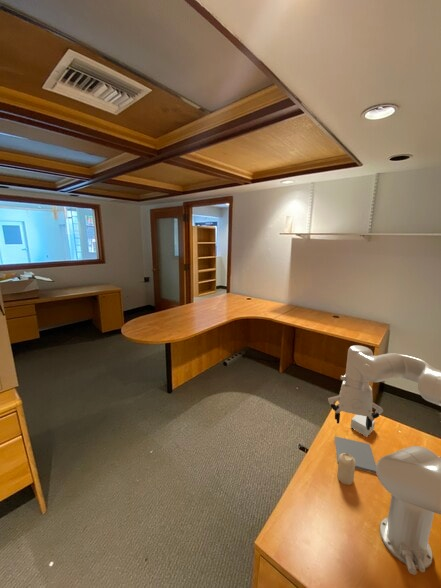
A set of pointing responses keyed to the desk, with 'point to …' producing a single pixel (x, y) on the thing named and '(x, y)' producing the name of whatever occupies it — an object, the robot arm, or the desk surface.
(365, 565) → the desk surface
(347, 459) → the candle
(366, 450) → the slate coaster
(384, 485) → the robot arm
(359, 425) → the small box
